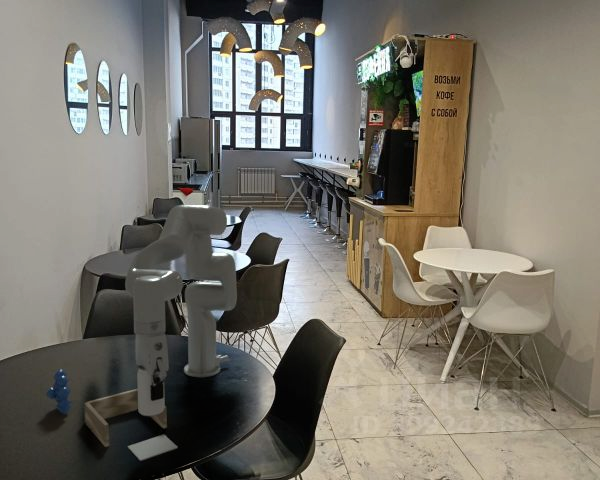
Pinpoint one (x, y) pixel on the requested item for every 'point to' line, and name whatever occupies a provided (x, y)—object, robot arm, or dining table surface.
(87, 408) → the wooden u-shaped frame
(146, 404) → the can
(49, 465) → the dining table surface
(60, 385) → the grapes
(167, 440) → the mat
